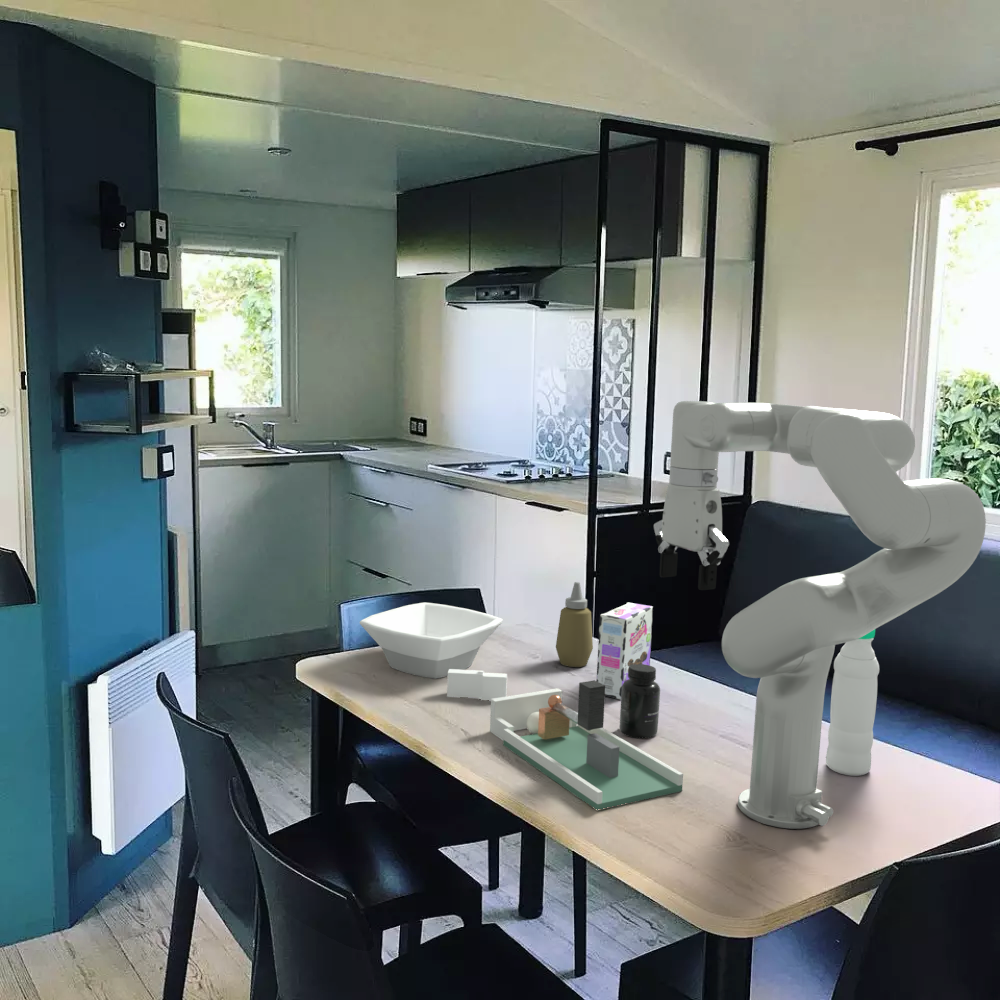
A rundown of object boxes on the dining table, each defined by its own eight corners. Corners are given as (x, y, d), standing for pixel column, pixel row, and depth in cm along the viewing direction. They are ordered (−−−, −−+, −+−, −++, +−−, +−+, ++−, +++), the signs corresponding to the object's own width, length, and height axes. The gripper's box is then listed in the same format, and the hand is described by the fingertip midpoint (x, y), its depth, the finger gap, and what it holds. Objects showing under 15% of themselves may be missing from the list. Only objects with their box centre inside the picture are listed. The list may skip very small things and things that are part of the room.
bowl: (348, 668, 214) (348, 621, 213) (423, 643, 235) (424, 599, 233) (439, 693, 201) (440, 642, 199) (511, 664, 221) (512, 617, 220)
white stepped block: (430, 697, 199) (430, 669, 198) (470, 685, 208) (471, 657, 207) (487, 717, 189) (488, 688, 189) (526, 703, 198) (527, 675, 197)
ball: (542, 707, 183) (540, 728, 183) (522, 710, 181) (521, 731, 181) (554, 715, 179) (552, 736, 180) (534, 718, 177) (533, 740, 178)
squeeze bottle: (593, 670, 218) (597, 587, 216) (555, 668, 218) (559, 586, 216) (590, 659, 226) (594, 579, 224) (554, 657, 226) (557, 578, 224)
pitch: (682, 790, 159) (684, 754, 158) (597, 810, 151) (599, 772, 150) (561, 719, 189) (562, 687, 188) (484, 732, 181) (485, 699, 180)
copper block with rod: (606, 758, 167) (610, 684, 165) (581, 763, 164) (584, 689, 162) (561, 730, 178) (564, 661, 176) (537, 735, 176) (540, 665, 174)
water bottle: (816, 763, 172) (828, 618, 168) (849, 758, 174) (861, 615, 171) (845, 779, 165) (858, 629, 162) (879, 774, 168) (893, 626, 164)
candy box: (621, 700, 200) (625, 618, 197) (594, 694, 203) (598, 613, 200) (650, 682, 211) (654, 605, 209) (624, 677, 214) (628, 600, 212)
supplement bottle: (656, 741, 179) (660, 675, 177) (617, 737, 180) (620, 671, 179) (658, 727, 186) (662, 663, 184) (620, 723, 187) (624, 660, 185)
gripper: (748, 484, 159) (741, 592, 161) (676, 471, 173) (671, 570, 176) (711, 486, 155) (704, 596, 157) (641, 472, 170) (636, 574, 172)
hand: (686, 582), depth 167 cm, fingers open, 9 cm apart
